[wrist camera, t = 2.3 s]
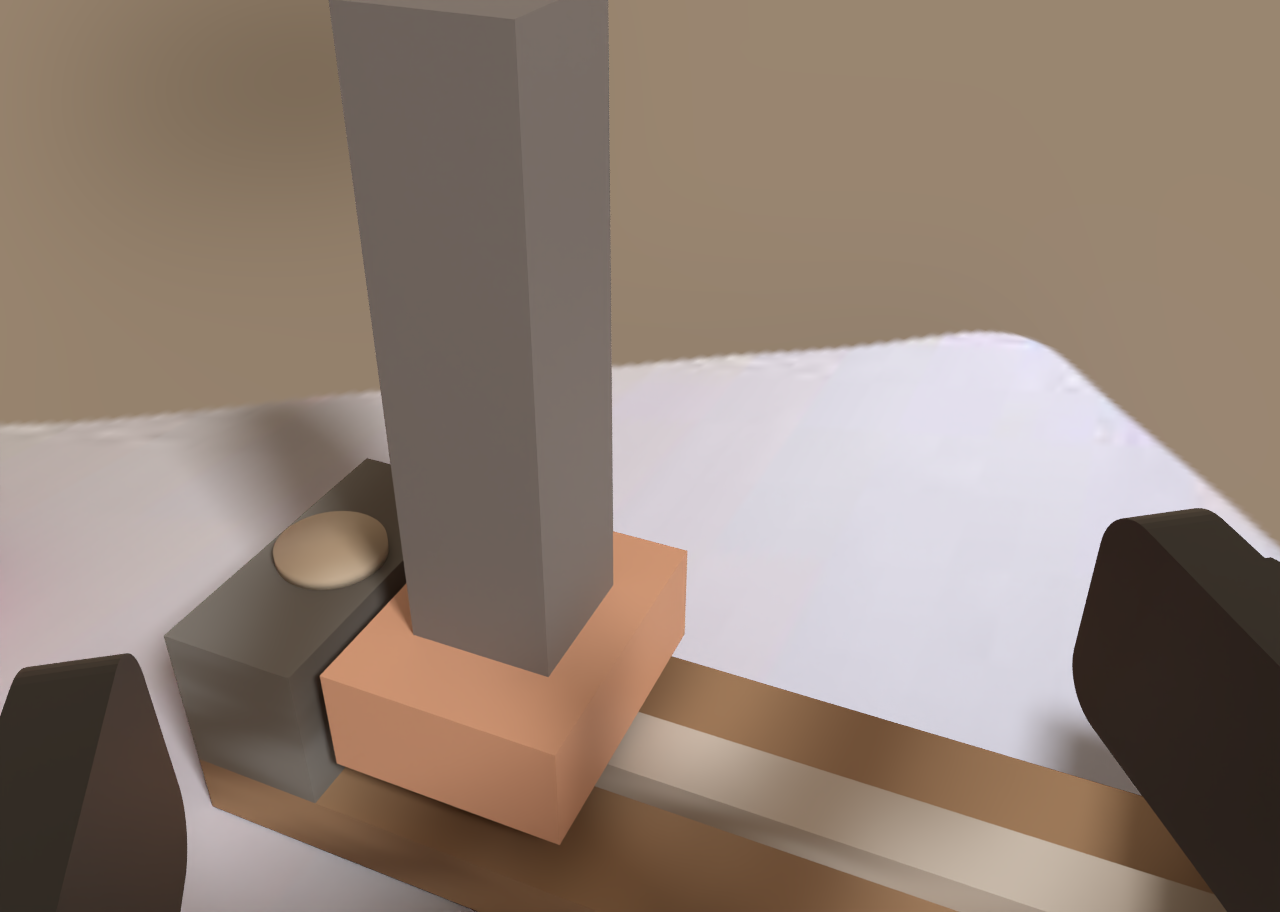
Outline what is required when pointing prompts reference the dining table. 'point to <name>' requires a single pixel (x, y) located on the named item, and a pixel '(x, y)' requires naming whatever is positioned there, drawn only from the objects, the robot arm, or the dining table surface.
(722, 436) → the dining table surface
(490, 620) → the carriage
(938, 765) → the rail
